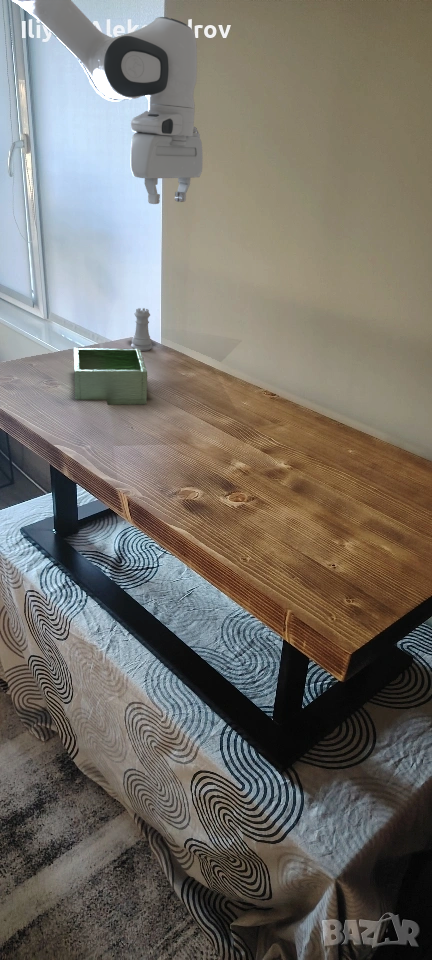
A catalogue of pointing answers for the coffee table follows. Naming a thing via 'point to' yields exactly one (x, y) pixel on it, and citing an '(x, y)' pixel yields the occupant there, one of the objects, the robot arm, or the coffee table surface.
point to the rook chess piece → (142, 331)
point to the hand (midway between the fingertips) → (167, 202)
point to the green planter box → (110, 375)
